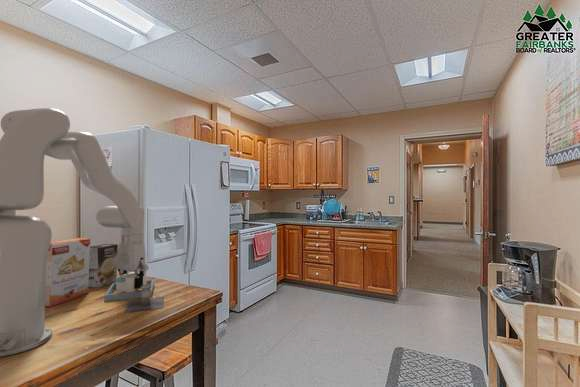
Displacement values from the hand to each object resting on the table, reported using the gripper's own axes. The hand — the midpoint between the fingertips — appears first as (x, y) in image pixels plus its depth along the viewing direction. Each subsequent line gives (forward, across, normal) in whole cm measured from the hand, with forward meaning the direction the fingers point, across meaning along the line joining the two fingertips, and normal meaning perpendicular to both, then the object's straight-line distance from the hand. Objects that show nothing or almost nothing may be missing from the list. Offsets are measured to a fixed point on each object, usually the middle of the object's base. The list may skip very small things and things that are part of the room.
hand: (131, 286), depth 104 cm
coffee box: (+3, -23, +4) cm, 23 cm away
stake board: (+3, +15, -6) cm, 16 cm away
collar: (+1, 0, 0) cm, 1 cm away
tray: (+3, 0, 0) cm, 3 cm away
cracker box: (+3, -17, -13) cm, 21 cm away
